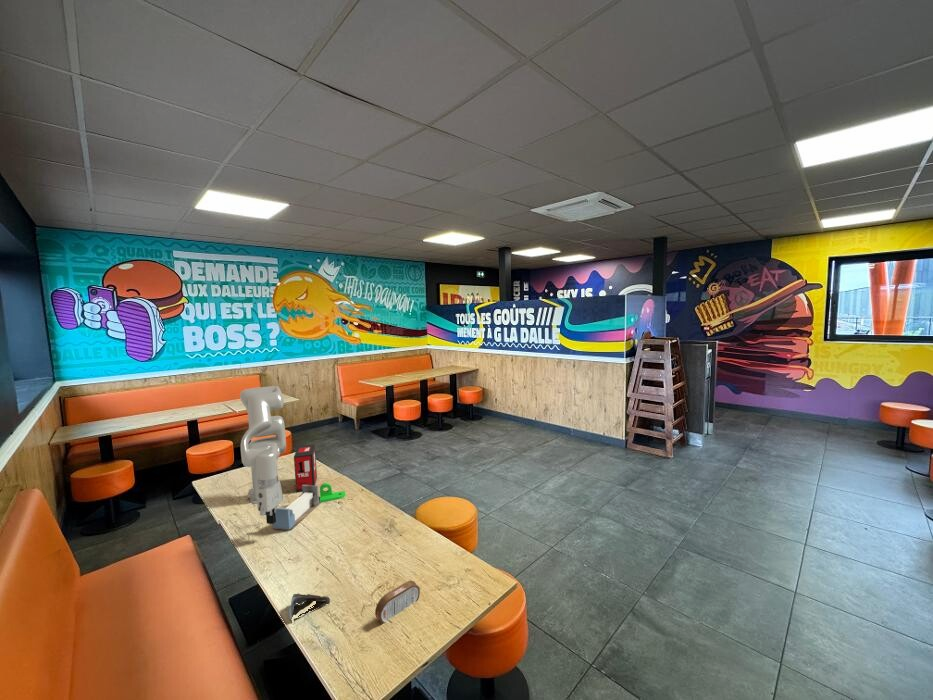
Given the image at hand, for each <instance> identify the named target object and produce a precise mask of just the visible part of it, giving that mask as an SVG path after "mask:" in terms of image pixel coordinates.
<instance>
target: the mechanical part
mask: <svg viewBox="0 0 933 700" xmlns="http://www.w3.org/2000/svg"><path fill="white" fill-rule="evenodd" d="M325 488H327V490H324V489H325ZM332 489H333V488H332V485H331V484H330V483H329V482H324V483H322V484H321V485H320V486H319V502H320V503H321V504H322V503H326V502H331V501H337V500H341V499H344V498H345V497H346V490H341V491H334V492H333V491H332Z"/></svg>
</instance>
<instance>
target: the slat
mask: <svg viewBox="0 0 933 700" xmlns="http://www.w3.org/2000/svg"><path fill="white" fill-rule="evenodd" d="M301 494H302V493H301ZM301 494H300V495H301ZM300 495H299V496H300ZM299 496H298V498H297V499H295V500H294V501H292V502H291V503H290V504H289V505H287V506H286V507H285V508H286V509H289V510H290V516H291V515H292V514H295V520H297V519H298V518H299V517H300V516H301V515H302V514H303V513H304V512H306V511H307V510H308V509H309V508H310V507H311V506H312V505H313V498H312V497H313V493H311V492H305V493H304V494H302V495H301V496H300V497H299Z"/></svg>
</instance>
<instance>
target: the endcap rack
mask: <svg viewBox="0 0 933 700" xmlns="http://www.w3.org/2000/svg"><path fill="white" fill-rule="evenodd" d="M305 492H311V493H313V497H312V498H313V505H312V506H311V507H310V508H309V509H308V510H307V511H306V512H304V513H303V514H302V515H301V516H300V517H299V518H298V519H297V520H295V525H294V526H293V527H292V528H291V529H290V530H288V529H277V528H273V527H272V530H280V531H281V530H283V531H292V530H293V529H294V528H295V527H297V526H298V525H299V524H300V523H302V521H303V520H304V519H306V517H308V516H309V515H310V514H311V513H312V512H313V511H314V510H315V509H317V507H319V506H320V505H321V504H322V503H320V492H319V485H316V484H315V485H302V493H301V494H300V495H299V496H298V498H299V497H300V496H301V495H302V494H304V493H305Z"/></svg>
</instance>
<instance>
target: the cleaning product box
mask: <svg viewBox="0 0 933 700" xmlns="http://www.w3.org/2000/svg"><path fill="white" fill-rule="evenodd" d="M293 464H294V476H295V477H294V479H295V491H296V492H295V493H301V492H302V485H316V484H317V480H318V473H317V472H318V471H317V458H316V444H314V443H313V444H308V445H307V444H305V445H298V446H297V447H296V451H295V452H294V455H293ZM302 493H303V492H302Z"/></svg>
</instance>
